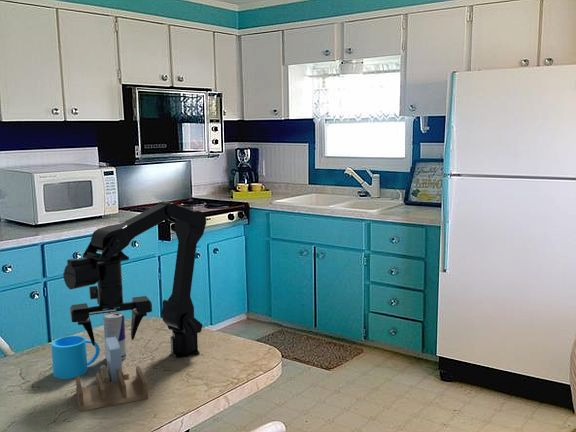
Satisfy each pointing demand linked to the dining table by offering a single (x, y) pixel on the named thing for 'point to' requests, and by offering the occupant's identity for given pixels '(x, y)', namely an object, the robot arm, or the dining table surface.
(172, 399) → the dining table surface
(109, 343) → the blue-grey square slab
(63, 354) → the mug
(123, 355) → the energy drink
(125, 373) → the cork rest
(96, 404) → the rack
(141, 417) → the dining table surface
